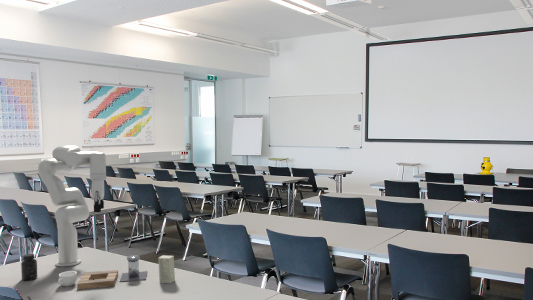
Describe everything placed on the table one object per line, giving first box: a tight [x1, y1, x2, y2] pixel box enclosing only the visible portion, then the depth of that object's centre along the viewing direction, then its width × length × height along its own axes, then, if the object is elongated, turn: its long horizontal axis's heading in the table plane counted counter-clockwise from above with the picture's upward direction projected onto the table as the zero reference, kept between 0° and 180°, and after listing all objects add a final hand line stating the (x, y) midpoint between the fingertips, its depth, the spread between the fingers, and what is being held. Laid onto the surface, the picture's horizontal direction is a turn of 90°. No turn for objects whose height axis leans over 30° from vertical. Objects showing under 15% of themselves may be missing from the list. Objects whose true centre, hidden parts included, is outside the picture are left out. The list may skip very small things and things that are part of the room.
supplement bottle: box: [20, 253, 38, 282], centre depth 209 cm, size 7×7×12 cm
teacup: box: [57, 270, 78, 287], centre depth 200 cm, size 10×8×5 cm
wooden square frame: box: [76, 269, 119, 290], centre depth 204 cm, size 16×16×3 cm
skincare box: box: [158, 254, 176, 284], centre depth 203 cm, size 6×4×12 cm
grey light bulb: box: [126, 254, 141, 278], centre depth 210 cm, size 6×6×10 cm
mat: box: [119, 270, 148, 283], centre depth 211 cm, size 12×12×1 cm
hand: (99, 210), depth 215 cm, fingers open, 9 cm apart
